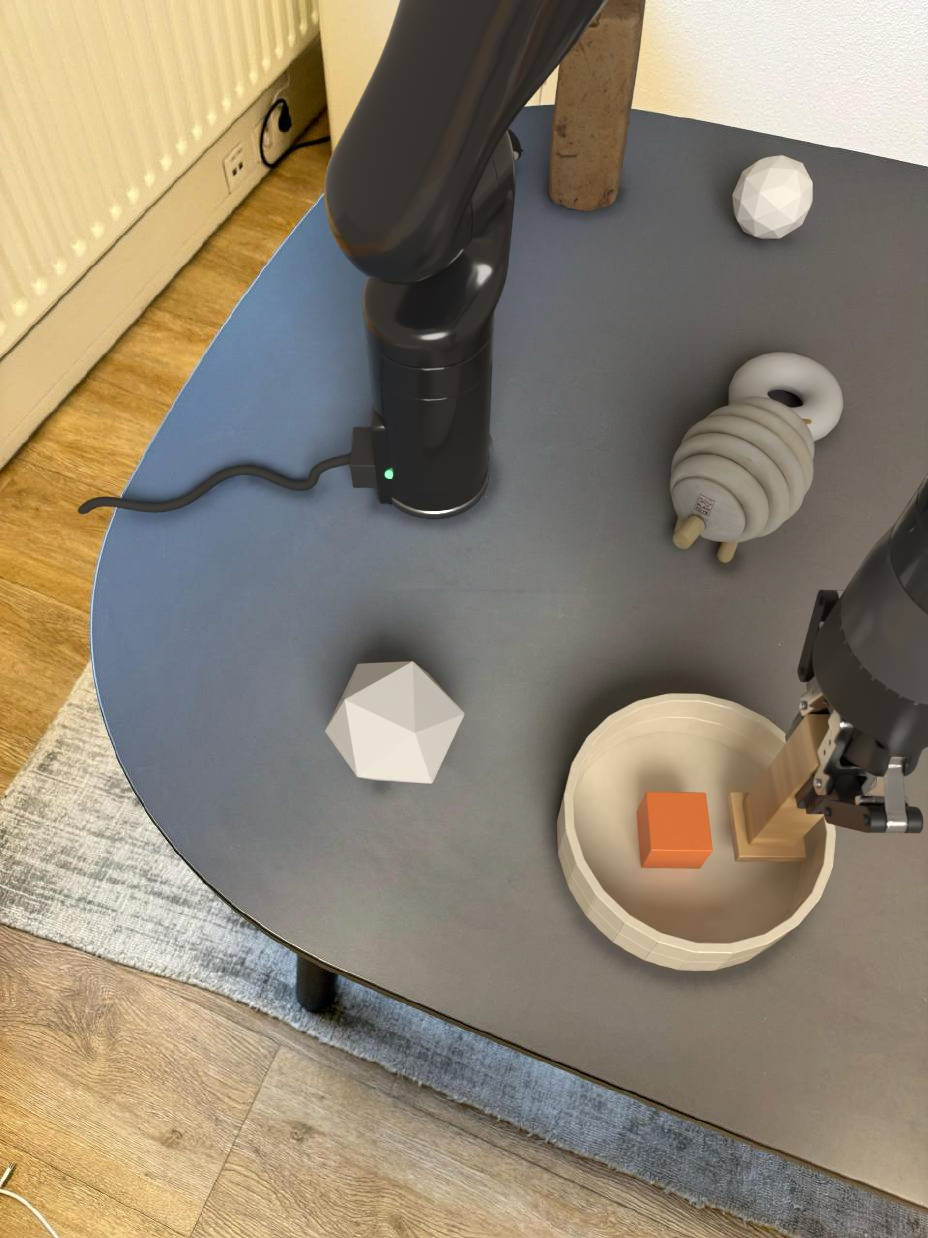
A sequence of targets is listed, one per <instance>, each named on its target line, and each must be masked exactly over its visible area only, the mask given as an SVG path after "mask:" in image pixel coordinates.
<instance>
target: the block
mask: <svg viewBox="0 0 928 1238" xmlns="http://www.w3.org/2000/svg"><path fill="white" fill-rule="evenodd" d="M646 2H647V1H646V0H608V1H607V3H606V4H605V5H604V7H603V8H602V9H601V11H600V12H599V14H598V15H597V16H596V18H595V19H594V20H593V22H592V23H591V24H590V26H589V27H588V28H587V30H586V31H585V32H584V34H583V35H582V36H581V38H580V39H579V40H578V41H577V43H576V44H575V45H574V47H573V48H572V49H571V50H570V52H569V53H568V54H567V55H566V57H565V58H564V59H563V60H562V62H561V63H560V64H559V65H558V71H557V80H556V87H555V88H556V89H555V95H554V97H555V98H554V105H553V114H552V115H553V116H552V125H551V136H550V137H551V139H550V149H549V150H550V152H549V165H548V195H549V197H550V200H551V201H552V202H553V203H554V204H555V205H557V206H563V207H565V208H567V209H571V210H576V211H582V212H594V211H595V210H598V209H601V208H607V207H611V206H612V205H613V204H615V202H616V200H617V197H618V193H619V189H620V184H621V178H622V173H623V167H624V159H625V153H626V147H627V142H628V134H629V128H630V121H631V115H632V114H631V113H632V107H633V100H634V94H635V88H636V87H635V86H636V80H637V75H638V74H637V73H638V66H639V59H640V53H641V43H642V36H643V27H644V17H645V12H646V11H645V10H646Z"/></svg>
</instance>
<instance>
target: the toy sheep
mask: <svg viewBox="0 0 928 1238" xmlns="http://www.w3.org/2000/svg"><path fill="white" fill-rule="evenodd" d="M789 407H790V406H787V405H786V404H784V403H782V402H780V401H778V400H775V399H773V398H770V399H769V398H765V397H757V396H752V397H744V398H741V399H738V400H736V401H734V402H732V403H731V404H729V403H728V405H725V406H721V407H719V408H717V409H715V410H713V411H712V412H711V413H710V414H708V415H707V416H706V417H705V418H704V419H702V420H700V421H698V422H696V423H695V424H693V426H691V427H690V428H689V430H687V432H686V433H685V434H684V436H683V439H682V441H681V443H680V445H679V447H678V448H677V450H676V451H675V453H674V455H673V458H672V462H671V466H670V480H669V491H670V496H671V500H672V505H673V509H674V511H675V513H676V515H677V519H676V523H675V526H674V529H673V532H674V533H673V535H672V542H673V544H674V545H675V546H676V547H677V548H679V549H682V550H687V549H689V548H690V547H691V546H692V545H693V544H694V542H695V541H696V540H697V539H698V538H699V536H700V537H701V538H703V539H705V540H708V541H713V542H720V545H719V548H718V550H717V553H716V557H717V558H718V561H720V562H722V563H729V562H731V561H732V559H733V558H734V555H735V553H736V550H737V547H738V545H739V543H743V542H747V541H751V540H752V539H757V538H763V537H766V536H767V535H770V534H772V533H775V531H776V530H778V529H779V528H780V527H781V526H782V524H783V523H784V522H786V521H788V520H789V519H790V518H792V517H793V516H795V514H796V513H797V512H798V511H799V509H800V508H801V506H802V504H803V502H804V498H805V495H806V494H807V492H808V491H809V489H810V488H811V486H812V483H813V480H814V474H815V473H814V471H815V469H814V462H813V461H814V457H815V452H816V451H815V441H814V440H813V437H812V434H811V432H810V430H809V428H808V426H807V424H810V423H812V421H811V420H810V419H802V418H801V417H800V416H799V415H798V414H797V413H796V412H794V411H793V410H792V409H791V408H792V407H790V408H789Z"/></svg>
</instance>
